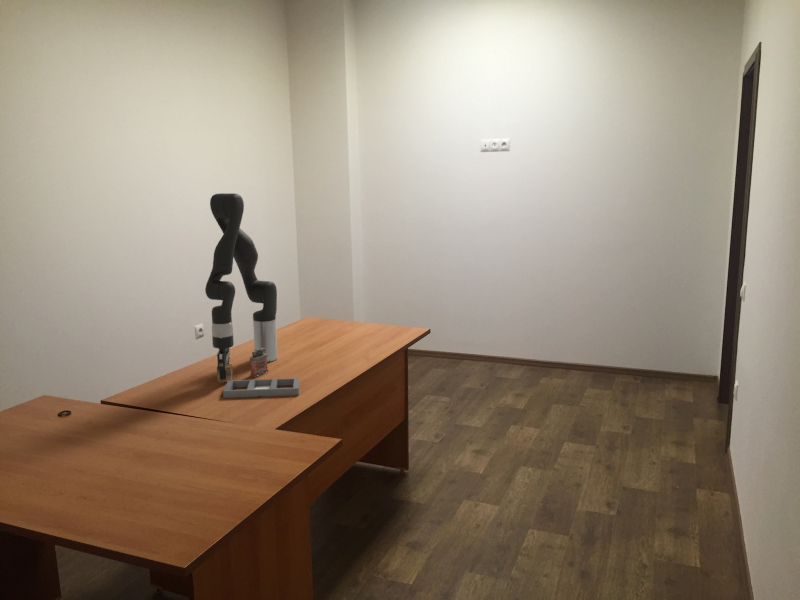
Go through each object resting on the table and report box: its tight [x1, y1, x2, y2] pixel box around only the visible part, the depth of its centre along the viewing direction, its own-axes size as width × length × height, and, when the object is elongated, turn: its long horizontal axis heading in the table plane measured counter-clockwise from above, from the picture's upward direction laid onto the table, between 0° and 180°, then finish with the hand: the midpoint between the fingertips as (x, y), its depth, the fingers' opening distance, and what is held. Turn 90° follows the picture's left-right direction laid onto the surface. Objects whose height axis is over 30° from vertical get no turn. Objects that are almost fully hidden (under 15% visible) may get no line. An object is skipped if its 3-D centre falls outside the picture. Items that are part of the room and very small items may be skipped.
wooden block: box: [216, 363, 234, 384], centre depth 241 cm, size 4×5×6 cm
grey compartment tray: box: [222, 377, 301, 399], centre depth 230 cm, size 12×26×2 cm, turn 97°
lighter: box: [249, 348, 269, 377], centre depth 249 cm, size 8×3×10 cm, turn 143°
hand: (224, 375), depth 241 cm, fingers open, 8 cm apart
